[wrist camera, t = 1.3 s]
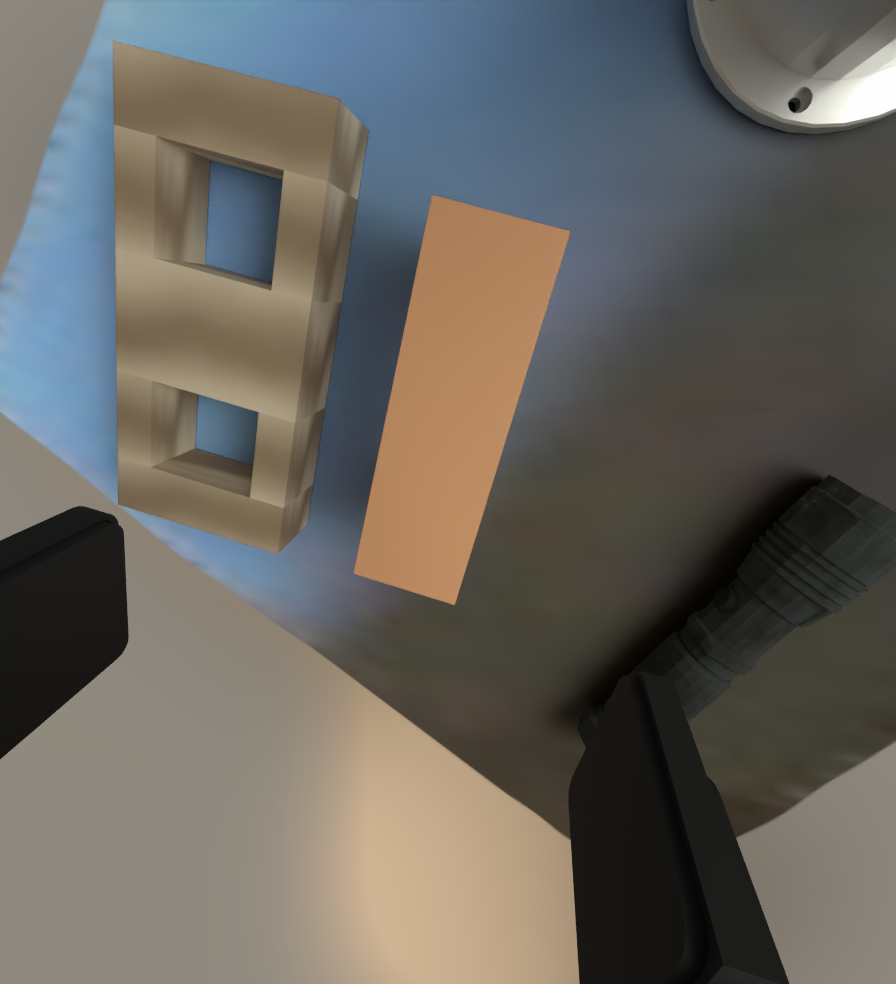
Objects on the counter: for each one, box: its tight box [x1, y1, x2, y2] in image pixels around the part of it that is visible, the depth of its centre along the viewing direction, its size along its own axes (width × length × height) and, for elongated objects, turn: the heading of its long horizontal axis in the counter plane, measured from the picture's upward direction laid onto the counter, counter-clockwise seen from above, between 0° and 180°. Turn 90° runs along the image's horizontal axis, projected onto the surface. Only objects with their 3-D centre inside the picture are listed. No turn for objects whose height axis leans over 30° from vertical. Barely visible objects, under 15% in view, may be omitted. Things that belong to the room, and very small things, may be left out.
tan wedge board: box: [354, 195, 571, 605], centre depth 24 cm, size 16×5×8 cm, turn 165°
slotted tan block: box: [113, 41, 368, 554], centre depth 26 cm, size 22×10×4 cm, turn 165°
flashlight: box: [577, 475, 896, 748], centre depth 28 cm, size 5×21×5 cm, turn 148°
